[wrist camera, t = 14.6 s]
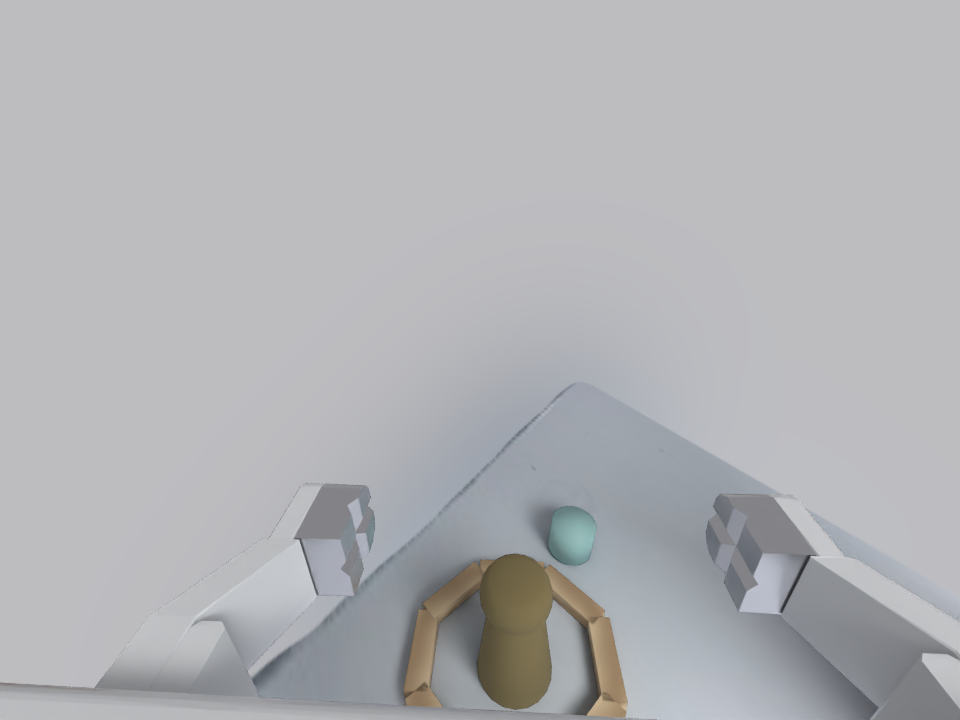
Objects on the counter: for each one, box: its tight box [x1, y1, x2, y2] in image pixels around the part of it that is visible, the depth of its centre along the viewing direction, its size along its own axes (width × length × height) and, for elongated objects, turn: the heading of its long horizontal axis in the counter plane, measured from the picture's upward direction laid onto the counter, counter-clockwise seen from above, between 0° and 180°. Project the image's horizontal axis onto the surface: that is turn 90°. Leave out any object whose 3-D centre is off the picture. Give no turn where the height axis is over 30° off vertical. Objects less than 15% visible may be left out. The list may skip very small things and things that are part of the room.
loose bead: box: [548, 506, 597, 565], centre depth 43 cm, size 4×4×4 cm
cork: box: [477, 554, 553, 710], centre depth 32 cm, size 6×6×11 cm
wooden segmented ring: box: [403, 560, 628, 718], centre depth 34 cm, size 17×17×1 cm
